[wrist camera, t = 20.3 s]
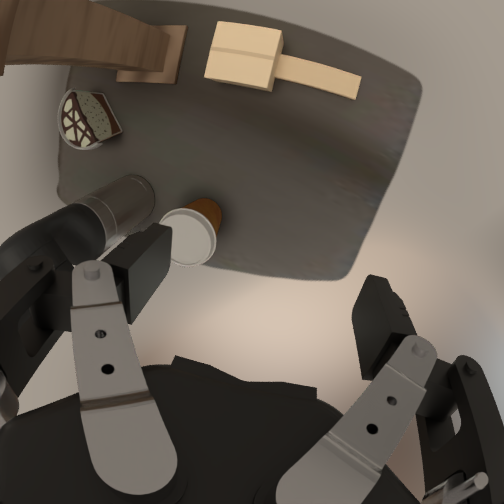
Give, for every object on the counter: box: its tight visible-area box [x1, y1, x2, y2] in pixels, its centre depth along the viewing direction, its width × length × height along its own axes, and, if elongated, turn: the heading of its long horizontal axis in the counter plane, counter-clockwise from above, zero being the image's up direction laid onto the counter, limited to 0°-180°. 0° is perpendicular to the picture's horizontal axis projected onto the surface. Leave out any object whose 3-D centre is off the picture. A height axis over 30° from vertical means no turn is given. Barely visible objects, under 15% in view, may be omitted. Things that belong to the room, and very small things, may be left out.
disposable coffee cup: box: [159, 198, 222, 267], centre depth 49 cm, size 10×10×12 cm
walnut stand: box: [0, 0, 188, 84], centre depth 25 cm, size 12×11×38 cm
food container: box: [58, 88, 123, 150], centre depth 44 cm, size 12×6×10 cm, turn 27°
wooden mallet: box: [204, 21, 361, 100], centre depth 38 cm, size 22×9×8 cm, turn 77°
